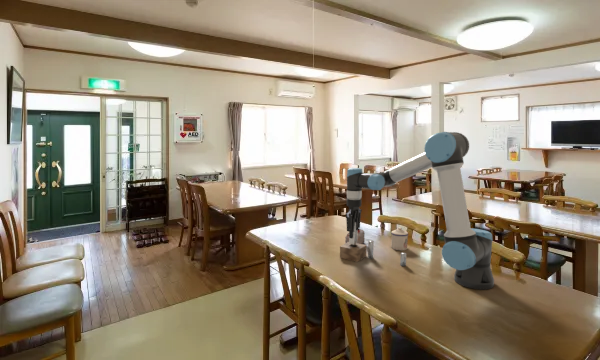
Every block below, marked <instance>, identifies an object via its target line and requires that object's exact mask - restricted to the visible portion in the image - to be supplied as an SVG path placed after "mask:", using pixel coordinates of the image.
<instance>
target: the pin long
mask: <svg viewBox="0 0 600 360" xmlns="http://www.w3.org/2000/svg"><path fill="white" fill-rule="evenodd" d="M354 232H355V242H354V245H353V244H351V247H356V222H354Z"/></svg>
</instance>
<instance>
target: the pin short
mask: <svg viewBox="0 0 600 360" xmlns="http://www.w3.org/2000/svg"><path fill="white" fill-rule="evenodd" d="M406 265H407V252H403V251H402V252H400V266H401V267H407V266H406Z"/></svg>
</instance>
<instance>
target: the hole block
mask: <svg viewBox="0 0 600 360" xmlns="http://www.w3.org/2000/svg"><path fill="white" fill-rule="evenodd" d="M365 257H367V244H364V243H363V244H359V243H356V247H351V244H349V242H348V243H346V244H345V243H343V244H342V245H341V246H339V258H340V259H345V260H348V261H352V262H355V263H358V262H359V261H361V260H363V259H364V258H365Z"/></svg>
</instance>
